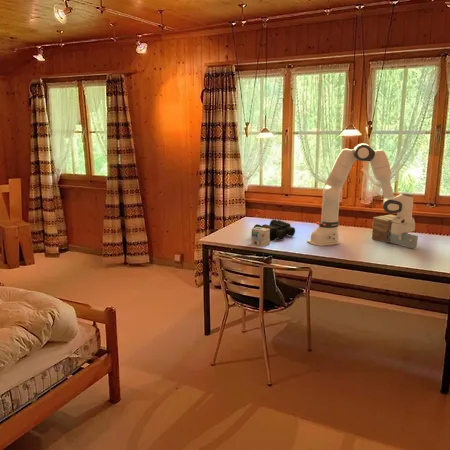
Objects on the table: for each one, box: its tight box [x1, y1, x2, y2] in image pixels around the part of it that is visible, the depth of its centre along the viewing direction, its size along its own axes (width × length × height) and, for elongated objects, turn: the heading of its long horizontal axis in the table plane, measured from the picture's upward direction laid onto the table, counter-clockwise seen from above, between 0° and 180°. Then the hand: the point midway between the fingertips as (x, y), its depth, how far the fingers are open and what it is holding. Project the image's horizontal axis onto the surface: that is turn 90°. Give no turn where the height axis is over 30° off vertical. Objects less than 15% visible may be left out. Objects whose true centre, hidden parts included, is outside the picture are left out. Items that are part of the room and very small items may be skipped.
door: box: [388, 230, 419, 250], centre depth 289 cm, size 20×4×8 cm, turn 32°
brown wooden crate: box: [371, 213, 397, 243], centre depth 306 cm, size 20×15×15 cm
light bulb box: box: [250, 227, 270, 247], centre depth 295 cm, size 11×7×11 cm, turn 56°
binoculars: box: [253, 219, 296, 241], centre depth 315 cm, size 29×20×10 cm
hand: (402, 239), depth 290 cm, fingers closed on door, 2 cm apart
